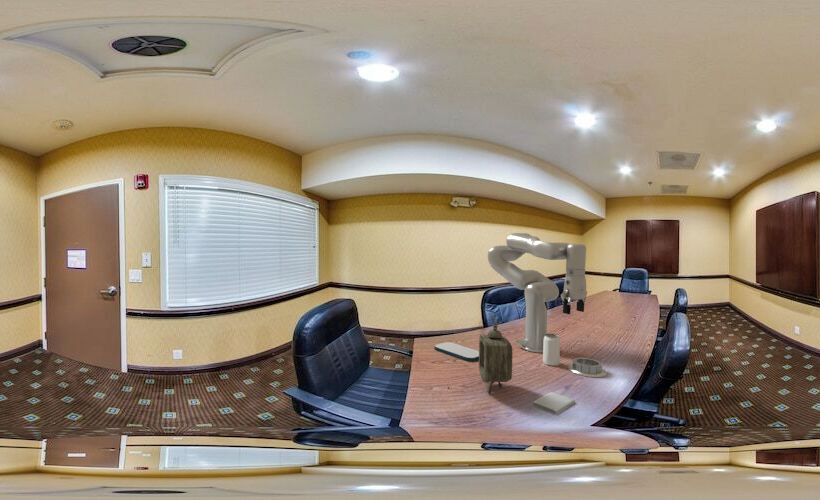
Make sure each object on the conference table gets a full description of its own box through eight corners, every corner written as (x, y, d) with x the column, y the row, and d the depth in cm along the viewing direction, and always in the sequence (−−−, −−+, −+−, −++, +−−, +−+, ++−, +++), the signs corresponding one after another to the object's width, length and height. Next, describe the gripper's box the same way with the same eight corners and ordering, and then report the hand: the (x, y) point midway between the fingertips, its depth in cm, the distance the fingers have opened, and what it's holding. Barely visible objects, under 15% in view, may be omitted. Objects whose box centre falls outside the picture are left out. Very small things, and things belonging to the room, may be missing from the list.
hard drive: (556, 411, 112) (574, 399, 120) (531, 401, 118) (550, 390, 126) (556, 416, 112) (574, 404, 120) (531, 406, 118) (550, 395, 126)
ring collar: (575, 376, 142) (576, 367, 142) (563, 363, 156) (563, 355, 156) (613, 378, 141) (614, 369, 141) (597, 365, 155) (597, 356, 155)
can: (559, 362, 158) (560, 334, 157) (558, 367, 152) (559, 338, 151) (543, 360, 160) (544, 332, 160) (542, 364, 155) (543, 336, 154)
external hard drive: (487, 358, 163) (487, 353, 163) (470, 363, 156) (470, 359, 156) (448, 345, 181) (448, 341, 181) (431, 350, 174) (431, 345, 174)
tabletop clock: (478, 379, 138) (479, 312, 137) (502, 379, 138) (504, 313, 137) (484, 396, 124) (486, 321, 123) (512, 396, 124) (514, 322, 122)
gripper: (571, 274, 151) (569, 316, 151) (595, 272, 160) (593, 312, 161) (554, 272, 157) (553, 312, 158) (579, 271, 166) (577, 308, 167)
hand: (573, 312), depth 159 cm, fingers open, 9 cm apart
